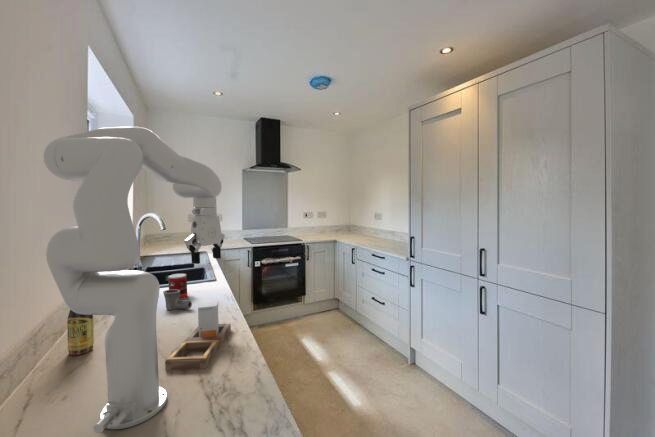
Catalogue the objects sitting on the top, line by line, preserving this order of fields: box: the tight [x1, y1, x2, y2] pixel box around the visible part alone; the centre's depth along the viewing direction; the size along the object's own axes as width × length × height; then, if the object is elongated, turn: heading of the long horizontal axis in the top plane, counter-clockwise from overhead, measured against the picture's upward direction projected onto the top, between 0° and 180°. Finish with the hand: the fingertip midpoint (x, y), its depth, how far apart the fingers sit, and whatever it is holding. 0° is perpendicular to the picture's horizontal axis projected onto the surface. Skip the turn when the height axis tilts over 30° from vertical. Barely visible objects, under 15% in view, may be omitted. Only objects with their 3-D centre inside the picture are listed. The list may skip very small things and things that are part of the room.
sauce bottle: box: [66, 308, 95, 356], centre depth 90 cm, size 6×6×20 cm
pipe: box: [162, 289, 193, 311], centre depth 126 cm, size 6×13×8 cm, turn 78°
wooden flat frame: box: [164, 323, 232, 371], centre depth 92 cm, size 24×11×3 cm, turn 2°
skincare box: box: [197, 301, 220, 337], centre depth 98 cm, size 6×4×12 cm
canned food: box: [167, 273, 188, 300], centre depth 142 cm, size 8×8×11 cm
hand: (206, 260), depth 102 cm, fingers open, 9 cm apart
